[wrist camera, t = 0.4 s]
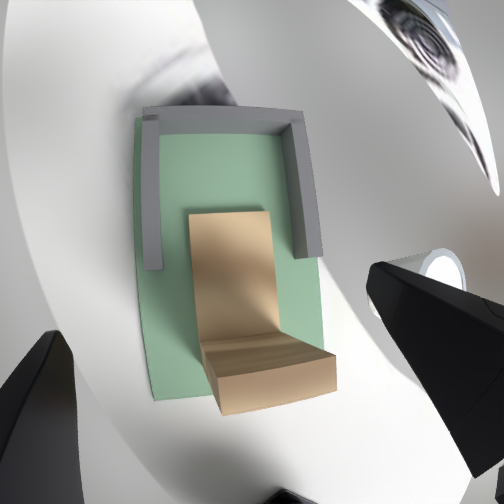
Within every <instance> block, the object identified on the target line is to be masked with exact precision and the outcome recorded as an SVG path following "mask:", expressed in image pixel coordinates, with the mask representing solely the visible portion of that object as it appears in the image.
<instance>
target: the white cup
mask: <svg viewBox="0 0 504 504" xmlns="http://www.w3.org/2000/svg"><path fill="white" fill-rule="evenodd" d="M387 263H390V264H393V265H396V266H398V267H401V268H404V269H407V270H410V271H412V272H415V273H418V274H421V275H424V276H426V277H429V278H432V279H434V280H437V281H440V282H443V283H445V284H448V285H451V286H453V287H456V288H459V289H461V290H464V291H466V282H465V274H464V271H463V268H462V266H461V263H460V261H459V259H458V258H457V257H456V256H455V255H454V253H453V252H452V251H449V250H447V249H445V248H440V249H436V250H433V251H429V252H425V253H421V254H417V255H413V256H409V257H405V258H401V259H397V260H393V261H389V262H387ZM367 296H368V304H369V306H370V308H371V310H372V312H373V313H374V314H375V315H376V316H377V317H378V318H380V316H379V314H378V312H377V310H376V308H375V306H374V305H373V303H372V301H371V299H370V297H369V295H368V293H367ZM380 319H381V318H380ZM381 320H382V319H381Z"/></svg>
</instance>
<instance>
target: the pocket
mask: <svg viewBox="0 0 504 504" xmlns="http://www.w3.org/2000/svg"><path fill="white" fill-rule="evenodd" d="M174 134H256V135H277V136H280V137H281V144H282V152H283V159H284V167H285V175H286V183H287V192H288V200H289V209H290V218H291V228H292V237H293V247H294V258H295V260H297V259H308V258H315V257H321V256H323V251H322V241H321V232H320V223H319V215H318V207H317V199H316V191H315V184H314V177H313V170H312V163H311V157H310V150H309V144H308V138H307V133H306V126H305V121H304V115H303V111H296V110H286V109H274V108H261V107H244V106H243V107H242V106H208V105H193V106H158V107H143V123H142V148H141V214H142V239H143V257H144V271H161V270H164V265H163V251H162V235H161V213H160V175H159V141H160V135H174Z"/></svg>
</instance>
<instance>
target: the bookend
mask: <svg viewBox="0 0 504 504" xmlns="http://www.w3.org/2000/svg"><path fill="white" fill-rule="evenodd" d="M188 225H189V240H190V254H191V267H192V278H193V289H194V300H195V310H196V319H197V328H198V337H199V345H200V353H201V361H202V367H203V369H204V372H205V374H206V377H207V380H208V382H209V385H210V387H211V390H212V392H213V395H214V397H215V399H216V402H217V404H218V407H219V409H220V412H221V414H222V416H226V415H232V414H238V413H244V412H249V411H255V410H260V409H265V408H270V407H274V406H279V405H284V404H288V403H292V402H296V401H300V400H304V399H308V398H312V397H316V396H320V395H323V394H327V393H330V392H334V391H337V375H336V355H334V354H331V353H329V352H327V351H324V350H322V349H320V348H317V347H315V346H313V345H310V344H308V343H306V342H303V341H301V340H299V339H297V338H294V337H292V336H290V335H288V334H286V333H283V332H281V331H280V321H279V309H278V297H277V286H276V274H275V263H274V253H273V242H272V232H271V222H270V212H269V211H257V212H231V213H210V214H191V215H188Z"/></svg>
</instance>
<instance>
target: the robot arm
mask: <svg viewBox="0 0 504 504" xmlns="http://www.w3.org/2000/svg"><path fill="white" fill-rule="evenodd" d="M366 290H367V293H368V295H369V297H370V299H371V301H372V303H373V305H374V306H375V308H376V310H377V312H378V314H379V316H380V318H381V319H382V321H383V323H384V325H385V327H386V329H387V330H388V332H389V334H390V335H391V337H392V339H393V340H394V342H395V343H396V345H397V346H398V348H399V349H400V351H401V352H402V354H403V355H404V357H405V359H406V360H407V362H408V363H409V365H410V366H411V368H412V370H413V371H414V373H415V374H416V376H417V378H418V379H419V381H420V382H421V384H422V386H423V387H424V389H425V391H426V392H427V394H428V396H429V397H430V399H431V401H432V403H433V404H434V406H435V408H436V409H437V411H438V413H439V415H440V416H441V418H442V420H443V422H444V423H445V425H446V427H447V429H448V430H449V431H450V434H451V436H452V438H453V440H454V442H455V443H456V445H457V447H458V449H459V451H460V453H461V455H462V457H463V458H464V460H465V462H466V464H467V466H468V468H469V470H470V472H471V474H472V476H473V477H474V478H477V477H478V476H480V475H481V474H483V473H484V472H486V471H487V470H489V469H490V468H492V467H493V466H494V465H496V464H497V463H499V462H500V461H501V460H503V458H504V306H503V305H501V304H498V303H495V302H493V301H490V300H487V299H485V298H481V297H480V296H477V295H474V294H472V293H469V292H467V291H464V290H461V289H459V288H456V287H453V286H451V285H448V284H445V283H443V282H440V281H437V280H434V279H432V278H429V277H426V276H424V275H421V274H418V273H415V272H412V271H410V270H407V269H404V268H401V267H398V266H396V265H393V264H390V263H387V262H383V261H382V262H378V263H374V264H372V265H371V267H370V270H369V275H368V280H367V284H366ZM77 428H78V427H77V401H76V390H75V377H74V360H73V354H72V351H71V349H70V347H69V346H68V344H67V342H66V341H65V339H64V337H63V335H62V334H61V332H60V331H59V330H52V331H47V332H45V333H44V334H43V335H42V336H41V338H40V339H39V340H38V341H37V342H36V343H35V345H34V346H33V347H32V348H31V350H30V351H29V352H28V353H27V354H26V356H25V357H24V358H23V359H22V361H21V362H20V363H19V364H18V366H17V367H16V368H15V370H14V371H13V372H12V373H11V375H10V376H9V377H8V379H7V380H6V382H5V383H4V384H3V385H2V387H1V388H0V504H84V498H83V491H82V483H81V474H80V463H79V450H78V429H77ZM283 493H284V494H283ZM495 499H496V501H497V502H498V503H499V504H504V464H502V466H501V467H500V468H499V472H498V481H497V489H496V495H495ZM264 504H316V503H313V502H311V501H309V500H307V499H305V498H302V497H300V496H298V495H296V494H294V493H292V492H290V491H288V490H286V489H282V490H280V491H279V492H277V493H276V494H275V495H274V496H273V497H271V498H270V499H269V500H268V501H266V502H265V503H264Z"/></svg>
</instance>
